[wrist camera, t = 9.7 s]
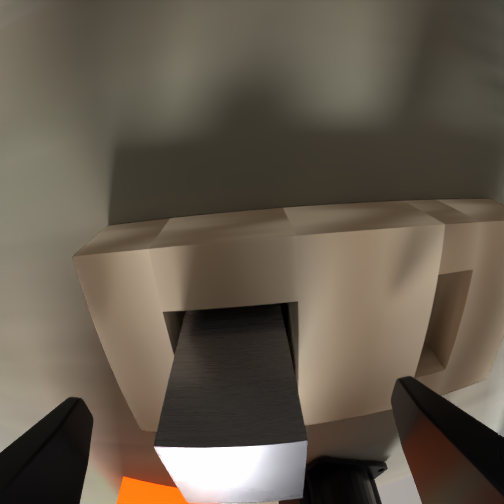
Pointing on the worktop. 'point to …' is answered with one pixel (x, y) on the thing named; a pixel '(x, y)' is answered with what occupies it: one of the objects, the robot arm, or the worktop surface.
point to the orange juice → (148, 493)
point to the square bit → (233, 409)
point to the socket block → (309, 295)
